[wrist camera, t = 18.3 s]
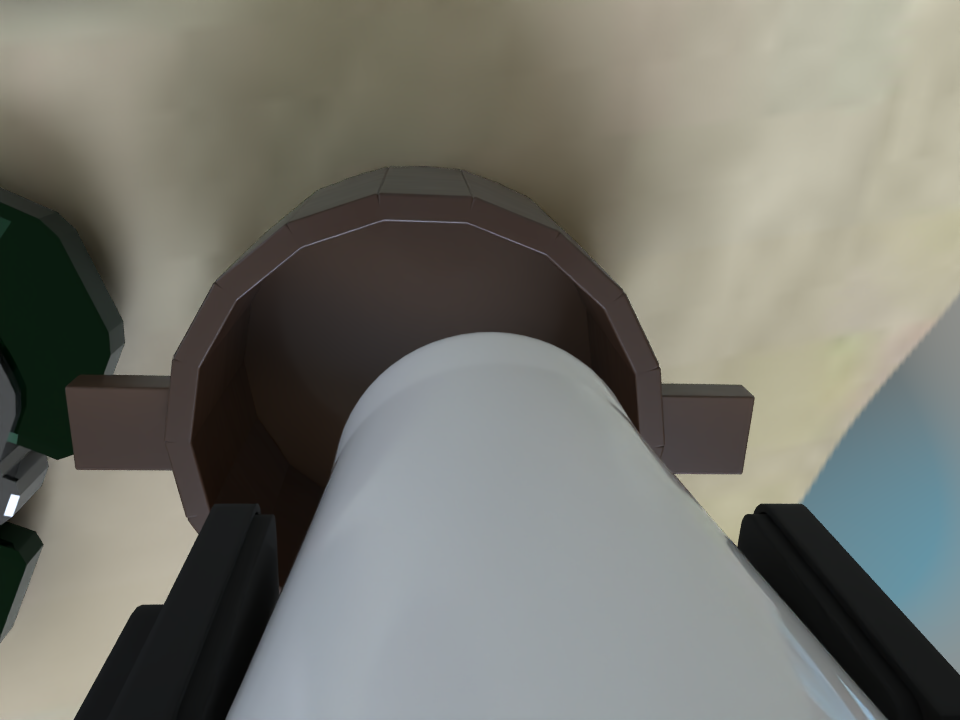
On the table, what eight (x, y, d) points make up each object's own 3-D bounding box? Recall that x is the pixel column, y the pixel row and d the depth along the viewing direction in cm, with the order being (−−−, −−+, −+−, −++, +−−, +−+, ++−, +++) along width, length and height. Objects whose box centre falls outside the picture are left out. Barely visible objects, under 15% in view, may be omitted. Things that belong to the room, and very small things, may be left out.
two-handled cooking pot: (127, 154, 25) (21, 180, 18) (705, 176, 26) (800, 206, 20) (162, 523, 29) (87, 652, 22) (659, 524, 31) (725, 645, 24)
